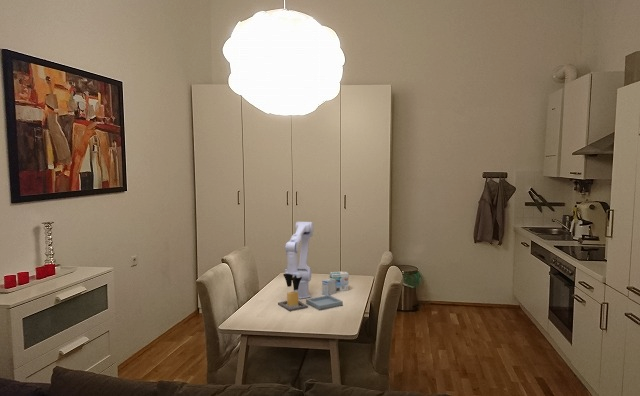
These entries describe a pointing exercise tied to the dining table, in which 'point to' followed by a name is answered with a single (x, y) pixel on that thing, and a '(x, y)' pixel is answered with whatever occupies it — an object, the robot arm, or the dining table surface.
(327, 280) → the medicine box
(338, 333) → the dining table surface
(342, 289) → the white printed carton
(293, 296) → the block
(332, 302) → the parts tray
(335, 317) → the dining table surface
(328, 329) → the dining table surface
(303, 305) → the holder frame
